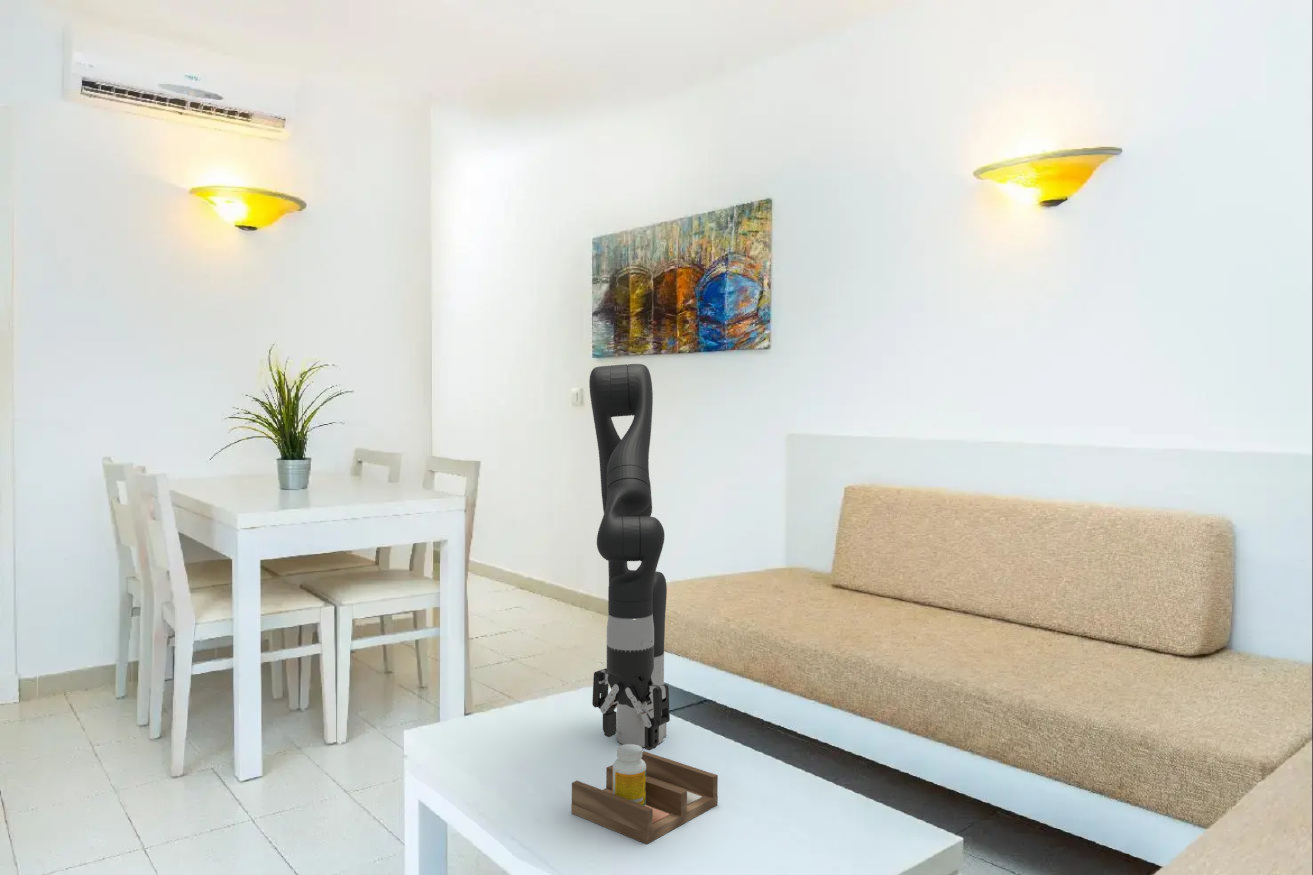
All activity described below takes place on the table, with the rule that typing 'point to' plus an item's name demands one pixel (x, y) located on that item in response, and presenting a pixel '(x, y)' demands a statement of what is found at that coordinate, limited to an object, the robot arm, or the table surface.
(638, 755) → the supplement bottle
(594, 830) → the table surface
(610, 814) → the brown shelf rack
